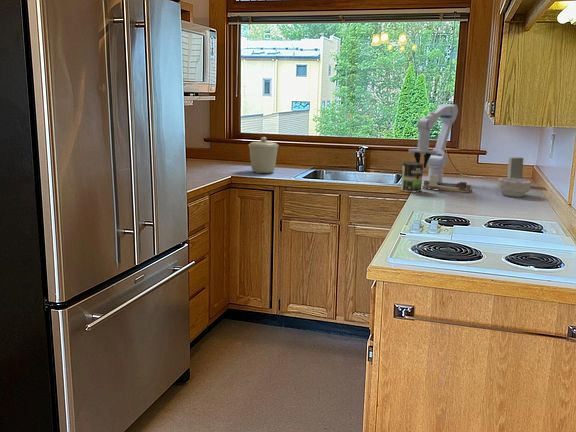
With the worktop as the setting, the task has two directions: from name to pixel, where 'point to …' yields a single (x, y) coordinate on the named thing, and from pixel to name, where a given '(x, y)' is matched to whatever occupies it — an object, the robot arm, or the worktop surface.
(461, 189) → the cable cradle
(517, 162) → the skincare box
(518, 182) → the paper bowls
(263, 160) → the canister
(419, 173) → the coffee can
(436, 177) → the marker sleeve
